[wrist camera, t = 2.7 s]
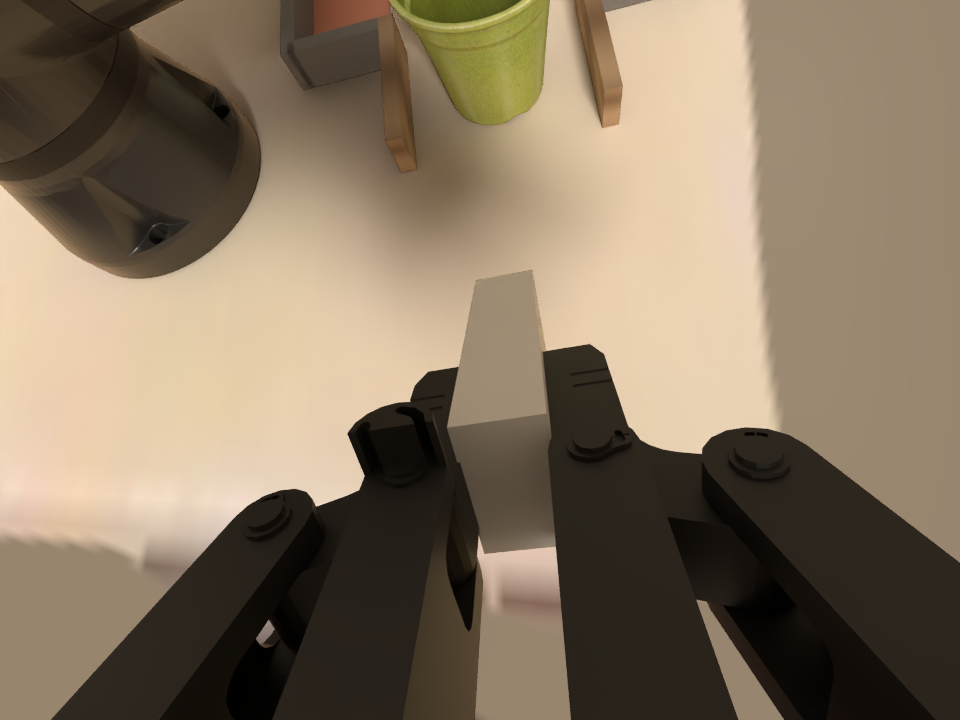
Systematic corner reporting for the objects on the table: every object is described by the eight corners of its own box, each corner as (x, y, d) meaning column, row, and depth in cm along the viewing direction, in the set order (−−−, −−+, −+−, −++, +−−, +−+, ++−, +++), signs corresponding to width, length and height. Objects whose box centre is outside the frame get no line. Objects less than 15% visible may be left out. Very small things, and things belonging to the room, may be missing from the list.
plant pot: (453, 28, 36) (415, -114, 28) (584, 36, 33) (585, -116, 25) (411, 138, 34) (357, 21, 26) (548, 156, 31) (536, 33, 23)
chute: (618, 124, 31) (622, 85, 28) (402, 172, 33) (385, 141, 30) (590, 3, 34) (591, -42, 31) (393, 55, 36) (377, 17, 33)
